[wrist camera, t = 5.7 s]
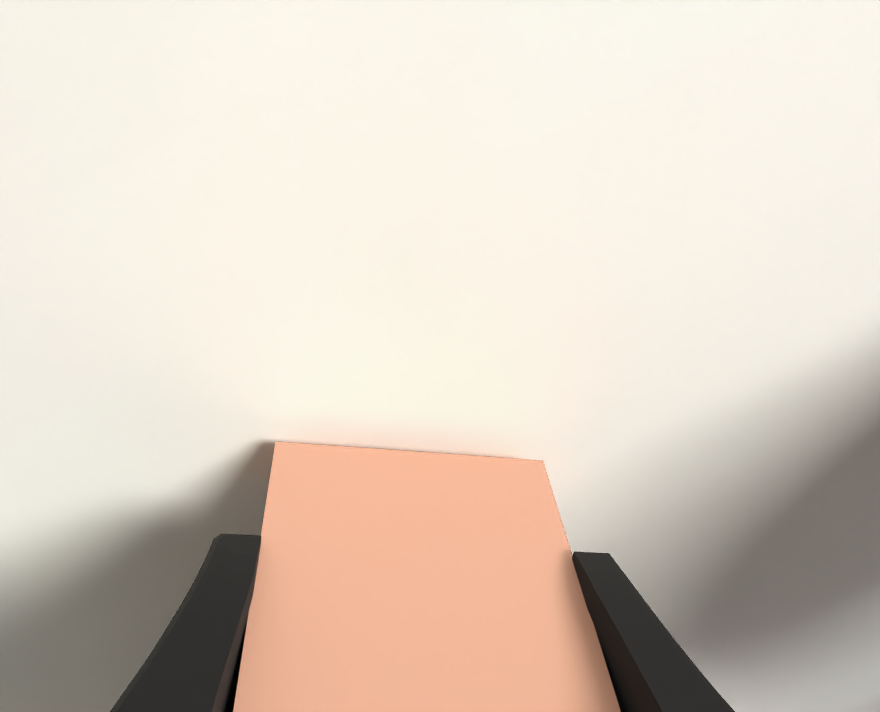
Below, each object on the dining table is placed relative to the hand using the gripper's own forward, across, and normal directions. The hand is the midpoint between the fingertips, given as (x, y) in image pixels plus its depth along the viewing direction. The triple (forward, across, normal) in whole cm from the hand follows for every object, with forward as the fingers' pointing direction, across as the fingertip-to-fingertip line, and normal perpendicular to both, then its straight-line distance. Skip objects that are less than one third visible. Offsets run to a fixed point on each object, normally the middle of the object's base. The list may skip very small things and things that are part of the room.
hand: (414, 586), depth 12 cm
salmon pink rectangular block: (+2, 0, 0) cm, 2 cm away
